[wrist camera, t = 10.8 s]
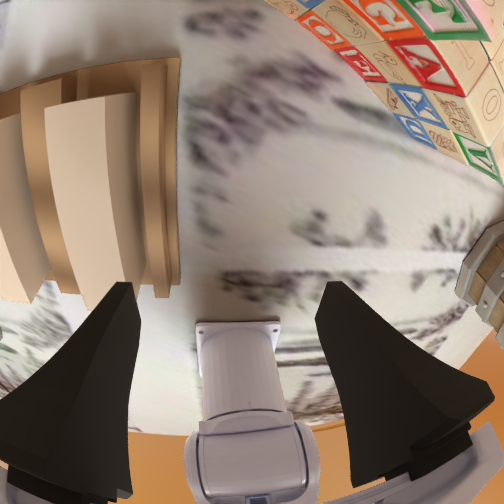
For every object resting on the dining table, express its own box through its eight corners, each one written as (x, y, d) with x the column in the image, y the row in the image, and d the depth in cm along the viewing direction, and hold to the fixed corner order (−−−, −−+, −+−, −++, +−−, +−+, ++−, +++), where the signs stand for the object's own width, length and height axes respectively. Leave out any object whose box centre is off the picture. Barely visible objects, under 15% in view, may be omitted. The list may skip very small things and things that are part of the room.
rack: (180, 278, 22) (177, 303, 19) (22, 272, 19) (9, 292, 17) (181, 58, 13) (174, 53, 10) (-14, 101, 10) (-37, 108, 8)
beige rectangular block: (56, 261, 18) (30, 304, 14) (28, 260, 18) (2, 299, 13) (29, 110, 11) (-19, 126, 7) (-1, 119, 11) (-46, 139, 7)
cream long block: (146, 263, 19) (133, 313, 15) (107, 263, 19) (87, 310, 15) (136, 92, 13) (104, 96, 9) (87, 98, 12) (44, 108, 8)
